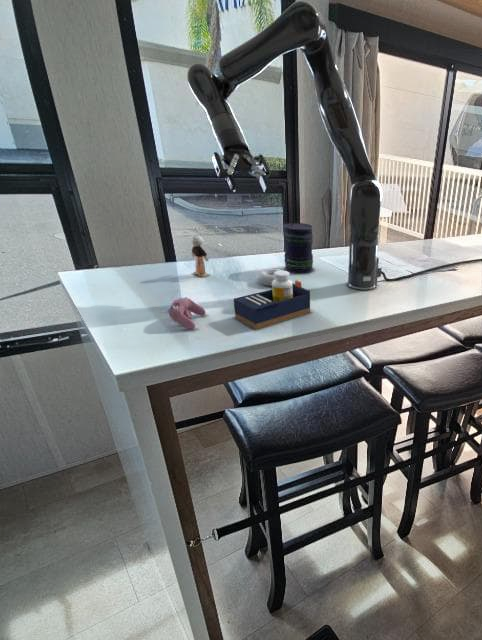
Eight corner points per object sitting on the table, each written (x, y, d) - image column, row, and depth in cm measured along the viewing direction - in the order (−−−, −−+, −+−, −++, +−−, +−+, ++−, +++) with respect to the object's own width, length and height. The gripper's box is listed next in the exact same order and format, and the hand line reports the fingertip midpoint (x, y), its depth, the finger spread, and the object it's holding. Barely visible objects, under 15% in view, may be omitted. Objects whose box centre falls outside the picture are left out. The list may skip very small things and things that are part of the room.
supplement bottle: (269, 305, 117) (267, 271, 112) (286, 302, 120) (284, 268, 115) (280, 312, 114) (278, 277, 109) (297, 308, 117) (296, 274, 112)
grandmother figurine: (188, 274, 135) (181, 233, 129) (197, 271, 139) (191, 231, 132) (206, 279, 133) (201, 238, 127) (215, 276, 136) (210, 236, 130)
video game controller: (193, 319, 112) (176, 296, 108) (208, 313, 111) (191, 289, 107) (179, 335, 103) (161, 310, 100) (195, 328, 103) (177, 303, 99)
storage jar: (318, 269, 153) (318, 227, 145) (299, 275, 145) (298, 230, 138) (298, 263, 157) (297, 221, 149) (278, 268, 150) (276, 224, 142)
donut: (251, 284, 133) (280, 289, 132) (250, 274, 132) (279, 278, 130) (265, 276, 142) (293, 280, 141) (265, 265, 140) (293, 270, 139)
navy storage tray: (289, 303, 124) (288, 276, 120) (310, 312, 120) (310, 285, 115) (235, 318, 111) (232, 289, 107) (256, 329, 107) (253, 300, 103)
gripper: (205, 124, 108) (229, 181, 107) (258, 129, 116) (280, 181, 115) (200, 146, 114) (223, 199, 113) (251, 148, 122) (272, 198, 121)
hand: (251, 190), depth 114 cm, fingers open, 8 cm apart
